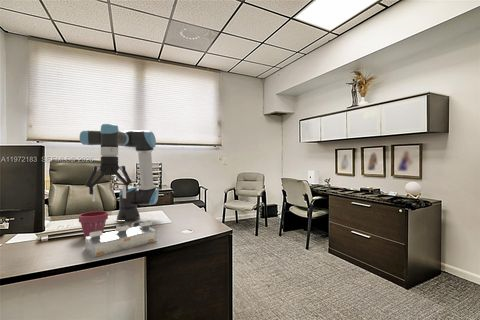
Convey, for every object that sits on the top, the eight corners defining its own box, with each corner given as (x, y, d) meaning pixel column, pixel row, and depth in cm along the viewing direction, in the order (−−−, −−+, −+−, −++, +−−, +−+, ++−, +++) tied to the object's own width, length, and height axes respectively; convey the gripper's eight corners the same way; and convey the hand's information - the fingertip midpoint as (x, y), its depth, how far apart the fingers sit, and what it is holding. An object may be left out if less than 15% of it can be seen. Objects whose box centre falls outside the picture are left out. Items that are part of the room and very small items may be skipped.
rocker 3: (139, 226, 131) (139, 222, 131) (146, 225, 133) (145, 221, 134) (145, 226, 125) (144, 221, 126) (151, 224, 128) (151, 220, 128)
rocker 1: (89, 236, 114) (89, 232, 115) (98, 235, 117) (97, 230, 117) (93, 236, 109) (93, 231, 109) (102, 234, 111) (102, 229, 111)
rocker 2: (116, 231, 123) (116, 227, 123) (123, 230, 125) (123, 225, 125) (121, 231, 117) (120, 226, 117) (128, 229, 119) (128, 224, 120)
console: (85, 248, 116) (85, 234, 116) (145, 234, 137) (145, 222, 137) (92, 258, 105) (92, 241, 105) (156, 241, 126) (156, 228, 126)
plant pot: (106, 230, 146) (106, 209, 145) (109, 236, 134) (109, 214, 134) (78, 234, 137) (78, 212, 137) (79, 241, 126) (79, 217, 126)
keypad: (129, 228, 138) (131, 222, 152) (129, 234, 138) (131, 227, 152) (147, 227, 141) (147, 220, 155) (147, 233, 142) (147, 226, 155)
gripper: (81, 155, 102) (80, 204, 103) (138, 156, 120) (138, 197, 120) (77, 155, 108) (77, 201, 108) (132, 156, 125) (132, 195, 126)
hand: (109, 199), depth 114 cm, fingers open, 13 cm apart
